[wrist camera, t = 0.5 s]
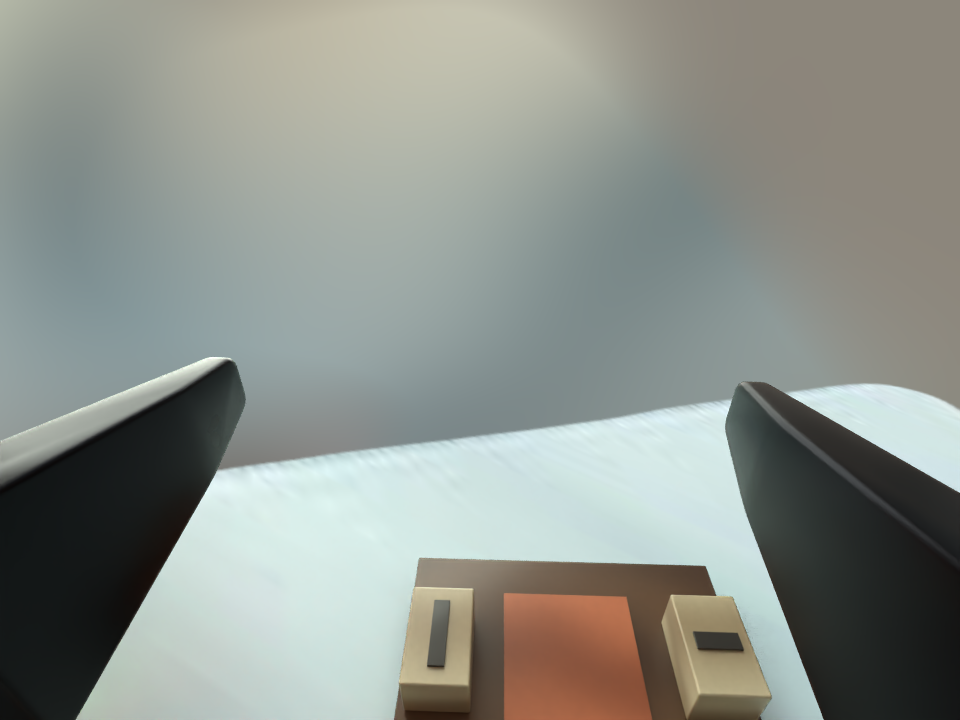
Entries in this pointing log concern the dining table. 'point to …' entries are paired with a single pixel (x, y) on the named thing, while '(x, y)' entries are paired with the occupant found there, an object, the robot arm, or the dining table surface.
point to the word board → (574, 644)
